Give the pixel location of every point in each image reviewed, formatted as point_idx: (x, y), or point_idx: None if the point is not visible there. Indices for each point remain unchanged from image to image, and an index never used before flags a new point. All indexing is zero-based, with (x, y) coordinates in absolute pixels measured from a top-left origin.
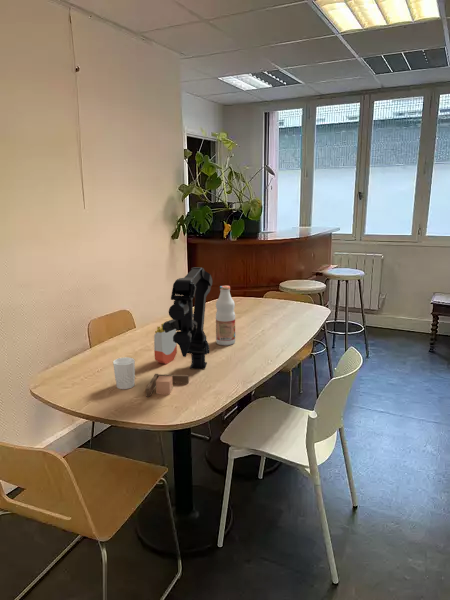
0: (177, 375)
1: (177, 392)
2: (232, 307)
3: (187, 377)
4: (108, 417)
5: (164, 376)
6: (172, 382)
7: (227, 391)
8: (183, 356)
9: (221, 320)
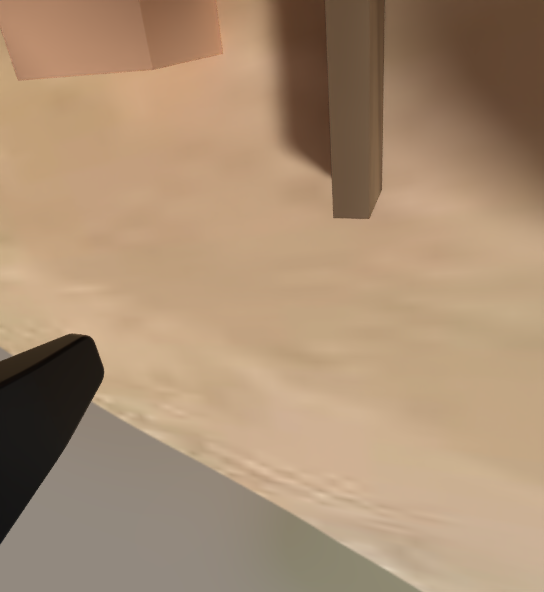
0: (347, 82)
1: (161, 124)
2: None
3: (335, 206)
4: None
5: None
6: (189, 60)
7: (256, 443)
8: (72, 344)
9: None
